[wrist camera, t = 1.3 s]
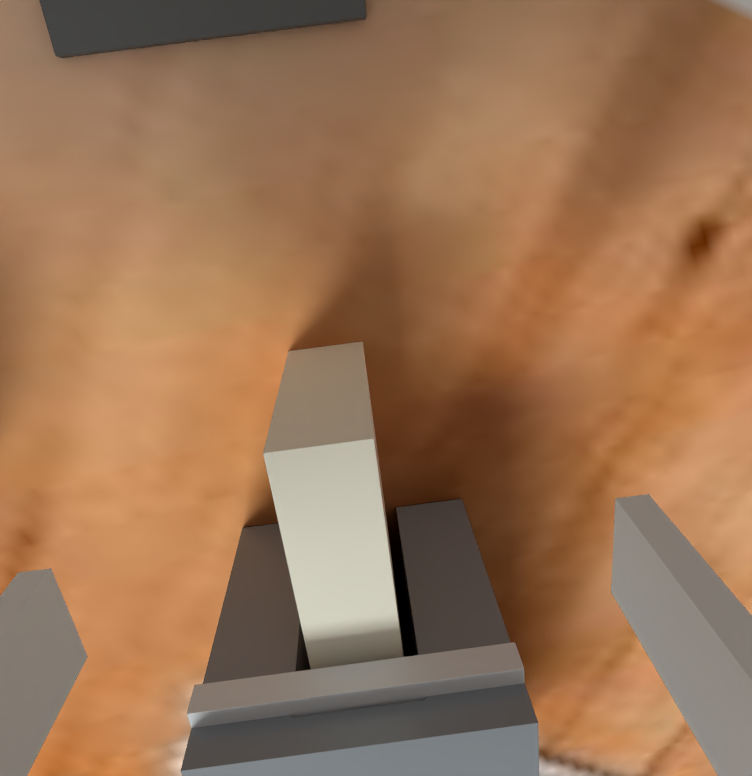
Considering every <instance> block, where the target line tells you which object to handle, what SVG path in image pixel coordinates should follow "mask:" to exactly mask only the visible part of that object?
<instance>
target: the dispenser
mask: <svg viewBox="0 0 752 776" xmlns="http://www.w3.org/2000/svg"><path fill="white" fill-rule="evenodd" d="M396 511H397V518H398V526H399V534H400V542H401V550H402V558H403V566H404V574H405V582H406V590H407V598H408V606H409V614H410V622H411V630H412V638H413V646H414V654H415V656H408V657H400V658H393V659H386V660H378V661H371V662H363V663H356V664H348V665H341V666H333V667H326V668H318V669H311V668H310V664H309V659H308V655H307V650H306V646H305V641H304V636H303V632H302V627H301V623H300V618H299V614H298V609H297V605H296V600H295V596H294V591H293V587H292V582H291V577H290V573H289V568H288V564H287V559H286V555H285V550H284V546H283V541H282V537H281V532H280V527H279V523H276V524H268V525H260V526H253V527H245V528H242V532H241V536H240V540H239V544H238V548H237V551H236V555H235V559H234V563H233V567H232V571H231V575H230V579H229V583H228V587H227V591H226V595H225V599H224V603H223V607H222V611H221V614H220V618H219V622H218V626H217V630H216V634H215V638H214V642H213V646H212V650H211V654H210V658H209V662H208V666H207V670H206V674H205V677H204V681H203V684H199V685H194V689H193V693H192V696H191V700H190V704H189V707H188V711H187V716H188V719H189V722H190V725H191V728H192V729H191V733H190V736H189V740H188V744H187V748H186V752H185V756H184V760H183V764H182V768H181V773H182V776H539V743H538V721H537V718H536V715H535V712H534V709H533V706H532V703H531V700H530V697H529V694H528V692H527V689H526V686H525V676H524V666H523V664H522V661H521V658H520V655H519V652H518V649H517V646H516V644H515V642H512V643H511V642H510V639H509V636H508V633H507V630H506V627H505V624H504V621H503V618H502V615H501V612H500V609H499V606H498V604H497V601H496V598H495V595H494V592H493V589H492V586H491V583H490V580H489V577H488V574H487V571H486V568H485V565H484V562H483V559H482V557H481V554H480V551H479V548H478V545H477V542H476V539H475V536H474V533H473V530H472V527H471V524H470V521H469V518H468V515H467V513H466V510H465V507H464V504H463V501H462V499H456V500H449V501H441V502H434V503H426V504H419V505H411V506H404V507H396Z"/></svg>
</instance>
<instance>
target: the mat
mask: <svg viewBox="0 0 752 776" xmlns="http://www.w3.org/2000/svg"><path fill="white" fill-rule="evenodd" d="M40 4H41V7H42V10H43V14H44V17H45V21H46V24H47V28H48V31H49V35H50V38H51V42H52V45H53V48H54V52H55V55H56V56H58V57H61V58H66V57H74V56H82V55H89V54H97V53H105V52H113V51H121V50H128V49H136V48H144V47H152V46H160V45H167V44H175V43H183V42H191V41H199V40H207V39H214V38H222V37H230V36H238V35H246V34H253V33H261V32H269V31H277V30H285V29H292V28H300V27H308V26H316V25H324V24H332V23H339V22H347V21H355V20H363V19H366V10H365V1H364V0H40Z"/></svg>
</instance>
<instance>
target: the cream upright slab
mask: <svg viewBox="0 0 752 776" xmlns="http://www.w3.org/2000/svg"><path fill="white" fill-rule="evenodd" d="M263 455H264V459H265V464H266V468H267V473H268V478H269V482H270V487H271V491H272V496H273V500H274V505H275V509H276V514H277V518H278V523H279V527H280V532H281V537H282V541H283V546H284V550H285V555H286V559H287V564H288V568H289V573H290V577H291V582H292V587H293V591H294V596H295V600H296V605H297V609H298V614H299V618H300V623H301V627H302V632H303V636H304V641H305V646H306V650H307V655H308V659H309V664H310V668H311V669H318V668H326V667H333V666H341V665H348V664H356V663H363V662H371V661H378V660H386V659H393V658H400V657H404V649H403V641H402V633H401V625H400V617H399V609H398V601H397V593H396V586H395V578H394V571H393V564H392V556H391V549H390V541H389V534H388V526H387V519H386V511H385V504H384V497H383V489H382V482H381V474H380V467H379V459H378V452H377V444H376V437H375V429H374V422H373V415H372V407H371V400H370V392H369V385H368V377H367V370H366V362H365V355H364V347H363V342H355V343H347V344H340V345H332V346H324V347H317V348H309V349H301V350H294V351H288V355H287V359H286V363H285V367H284V371H283V375H282V379H281V383H280V387H279V391H278V395H277V399H276V403H275V407H274V411H273V415H272V419H271V424H270V428H269V432H268V436H267V440H266V444H265V448H264V452H263Z"/></svg>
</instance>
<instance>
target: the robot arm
mask: <svg viewBox="0 0 752 776" xmlns="http://www.w3.org/2000/svg"><path fill="white" fill-rule="evenodd" d="M611 593H612V594H613V596H614V598H615V600H616V601H617V603H618V605H619V606H620V608H621V610H622V612H623V613H624V615H625V617H626V618H627V620H628V622H629V624H630V625H631V627H632V629H633V630H634V632H635V634H636V636H637V637H638V639H639V641H640V643H641V644H642V646H643V648H644V649H645V651H646V653H647V655H648V656H649V658H650V660H651V661H652V663H653V665H654V667H655V668H656V670H657V672H658V674H659V675H660V677H661V679H662V680H663V682H664V684H665V686H666V687H667V689H668V691H669V692H670V694H671V696H672V698H673V699H674V701H675V703H676V704H677V706H678V708H679V710H680V711H681V713H682V715H683V717H684V718H685V720H686V722H687V723H688V725H689V727H690V729H691V730H692V732H693V734H694V735H695V737H696V739H697V741H698V742H699V744H700V746H701V747H702V749H703V751H704V753H705V754H706V756H707V758H708V760H709V761H710V763H711V765H712V766H713V768H714V770H715V772H716V773H717V775H718V776H752V615H751V614H750V613H749V612H748V611H747V610H746V608H745V607H744V606H743V605H742V604H741V602H740V601H739V600H738V599H737V598H736V597H735V595H734V594H733V593H732V592H731V591H730V589H729V588H728V587H727V586H726V585H725V584H724V582H723V581H722V580H721V579H720V578H719V577H718V575H717V574H716V573H715V572H714V571H713V569H712V568H711V567H710V566H709V565H708V564H707V562H706V561H705V560H704V559H703V558H702V557H701V555H700V554H699V553H698V552H697V551H696V549H695V548H694V547H693V546H692V545H691V544H690V542H689V541H688V540H687V539H686V538H685V536H684V535H683V534H682V533H681V532H680V531H679V529H678V528H677V527H676V526H675V525H674V524H673V522H672V521H671V520H670V519H669V518H668V516H667V515H666V514H665V513H664V512H663V511H662V509H661V508H660V507H659V506H658V505H657V503H656V502H655V501H654V500H653V499H652V498H651V496H650V495H649V494H647V495H639V496H630V497H622V498H615V520H614V542H613V563H612V585H611ZM87 657H88V656H87V654H86V652H85V649H84V647H83V644H82V642H81V640H80V637H79V635H78V632H77V630H76V627H75V625H74V623H73V620H72V618H71V615H70V613H69V611H68V608H67V606H66V603H65V601H64V599H63V596H62V594H61V591H60V589H59V587H58V584H57V582H56V579H55V577H54V574H53V572H52V570H51V569H43V570H35V571H27V572H19V573H18V574H17V575H16V576H15V578H14V579H13V580H12V581H11V583H10V584H9V585H8V587H7V588H6V589H5V591H4V592H3V593H2V594H1V596H0V776H27V775H28V773H29V771H30V769H31V767H32V765H33V763H34V761H35V759H36V757H37V755H38V753H39V751H40V749H41V747H42V745H43V743H44V741H45V739H46V737H47V735H48V733H49V731H50V729H51V728H52V726H53V724H54V722H55V720H56V718H57V716H58V714H59V712H60V710H61V708H62V706H63V704H64V702H65V700H66V698H67V696H68V694H69V692H70V690H71V688H72V686H73V684H74V682H75V680H76V678H77V676H78V674H79V672H80V670H81V668H82V667H83V665H84V663H85V661H86V659H87Z"/></svg>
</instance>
